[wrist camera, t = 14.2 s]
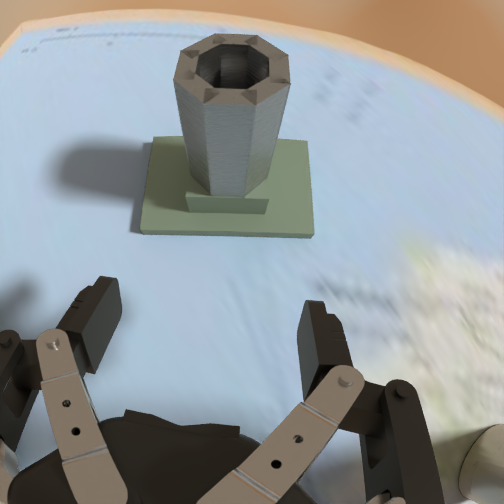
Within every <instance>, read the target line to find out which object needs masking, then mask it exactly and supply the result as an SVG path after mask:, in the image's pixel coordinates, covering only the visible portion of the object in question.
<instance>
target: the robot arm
mask: <svg viewBox="0 0 504 504" xmlns="http://www.w3.org/2000/svg"><path fill="white" fill-rule="evenodd" d="M121 314H122V303H121V297H120V290H119V283H118V280H117V278H112V277H105V276H100V277H99V278H98V279H97V281H96V282H95V284H94V285H93V286H87V287H86V288H85V289H83V290H82V291H80V292H79V294H78V295H77V297H76V298H75V301H73V303H72V304H71V306H70V307H69V309H68V310H67V312H66V313H65V315H64V316H63V318H62V319H61V321H60V322H59V324H58V325H57V327H56V329H50V330H47V331H45V332H43V333H42V334H41V335H40V336H39V337H38V339H37V340H21V339H20V337H19V334H18V333H17V332H16V331H14V330H4V331H2V332H0V504H317V503H316V502H315V501H314V500H313V499H312V498H311V497H310V496H309V495H308V494H307V493H306V492H305V491H304V490H303V489H302V488H301V486H300V485H299V484H298V482H299V480H300V479H301V478H302V477H303V475H304V474H305V473H306V472H307V470H308V469H309V468H310V466H311V465H312V464H313V462H314V461H315V460H316V458H317V457H318V456H319V454H320V453H321V452H322V450H323V449H324V448H325V446H326V445H327V444H328V442H329V441H330V439H331V438H332V437H333V435H334V434H335V432H336V431H337V430H338V429H342V430H346V431H350V432H354V433H358V434H359V437H360V445H361V453H362V462H363V471H364V481H365V491H366V503H365V504H445V503H444V498H443V493H442V488H441V483H440V478H439V474H438V469H437V465H436V460H435V456H434V452H433V448H432V444H431V440H430V436H429V432H428V429H427V425H426V421H425V418H424V414H423V411H422V407H421V404H420V400H419V397H418V394H417V391H416V389H415V388H414V387H413V386H412V385H411V384H410V383H408V382H407V381H404V380H399V379H396V380H392V381H390V382H388V383H387V385H386V386H382V385H378V384H374V383H370V382H368V381H365V380H364V378H363V376H362V374H361V373H360V372H359V371H358V370H357V369H355V368H354V367H353V364H352V360H351V356H350V352H349V349H348V345H347V341H346V338H345V334H344V330H343V327H342V323H341V322H340V320H339V319H338V318H337V317H336V316H335V314H327V312H326V308H325V304H324V302H323V301H312V300H306V301H305V303H304V307H303V311H302V314H301V318H300V322H299V326H298V331H297V345H298V354H299V363H300V372H301V381H302V390H303V400H304V403H302V402H300V403H299V404H298V405H297V406H296V407H295V408H294V409H293V410H292V412H291V413H290V414H289V415H288V416H287V417H286V418H285V419H284V420H283V422H282V423H281V424H280V425H279V426H278V427H277V428H276V429H275V430H274V431H273V432H272V433H271V434H270V436H269V437H268V438H267V439H266V440H265V441H264V442H263V443H262V444H260V443H259V442H257V441H255V440H254V439H252V438H249V437H247V436H245V435H242V434H239V433H240V426H231V425H220V424H211V423H210V424H200V425H187V426H180V425H176V424H174V423H171V422H169V421H166V420H164V419H162V418H159V417H157V416H154V415H152V414H146V413H141V412H136V411H132V410H127V409H126V410H125V414H124V417H115V418H110V419H106V420H104V421H101V422H100V420H99V417H98V415H97V413H96V410H95V408H94V405H93V403H92V400H91V397H90V395H89V392H88V389H87V387H86V384H85V381H84V379H83V377H84V375H85V373H86V372H88V373H92V374H95V373H96V371H97V369H98V366H99V364H100V362H101V360H102V357H103V355H104V353H105V351H106V349H107V346H108V344H109V342H110V340H111V338H112V336H113V334H114V331H115V329H116V327H117V325H118V323H119V321H120V318H121ZM9 379H10V380H9ZM8 380H9V382H8ZM7 382H8V384H7ZM6 384H7V386H6ZM5 386H6V388H5ZM4 388H5V390H4ZM39 390H42V392H43V396H44V400H45V404H46V408H47V412H48V416H49V419H50V423H51V426H52V430H53V433H54V436H55V439H56V443H57V446H58V449H56V450H55V451H53V452H52V453H50V454H48V455H47V456H45V457H43V458H42V459H40V460H39V461H37V462H35V463H34V464H32V465H30V466H29V467H27V468H25V469H24V470H22V471H21V472H19V470H18V459H17V456H16V455H15V451H16V448H17V445H18V442H19V440H20V437H21V434H22V432H23V429H24V426H25V424H26V421H27V419H28V416H29V414H30V411H31V409H32V406H33V404H34V402H35V399H36V397H37V394H38V392H39ZM3 391H4V392H3ZM459 489H460V491H461V494H462V495H463V496H464V497H466V498H468V499H470V500H472V501H474V502H476V503H478V504H504V424H498V425H495V426H493V427H491V428H489V429H488V430H487V431H485V432H484V433H483V434H482V435H481V436H480V437H479V438H478V440H477V441H476V442H475V443H474V445H473V446H472V448H471V449H470V451H469V453H468V454H467V456H466V458H465V460H464V463H463V465H462V468H461V472H460V476H459Z"/></svg>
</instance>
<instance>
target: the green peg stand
mask: <svg viewBox="0 0 504 504" xmlns="http://www.w3.org/2000/svg"><path fill="white" fill-rule="evenodd" d="M228 89H233V88H228ZM140 231H141V232H142V233H143V234H147V235H203V236H246V237H282V238H312V236H313V235H314V218H313V203H312V190H311V177H310V165H309V154H308V143H307V141H302V140H289V139H277V142H276V146H275V150H274V154H273V158H272V162H271V166H270V170H269V174H268V178H267V179H266V180H265V181H263V182H262V183H261V184H260V185H259V186H257V187H256V188H255V189H254V190H253V191H251V192H250V193H249V194H248V195H247V196H245V197H244V198H243V197H220V196H211V195H210V194H209V193H208V192H207V191H206V190H205V189H204V188H203V187H202V186H201V185H200V184H199V183H198V182H197V181H196V180H195V179H194V178H193V177H192V176H191V174H190V169H189V164H188V159H187V154H186V149H185V144H184V138H183V136H164V137H154V138H153V143H152V149H151V155H150V161H149V167H148V173H147V179H146V186H145V193H144V200H143V207H142V215H141V223H140Z"/></svg>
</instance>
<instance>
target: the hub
mask: <svg viewBox="0 0 504 504" xmlns="http://www.w3.org/2000/svg"><path fill="white" fill-rule="evenodd" d="M288 56H289V55H288V54H286V53H284V52H283V51H281V50H280V49H278V48H277V47H275V46H273V45H272V44H270V43H269V42H267V41H265V40H264V39H262V38H261V37H259V36H258V35H243V34H216V33H215V34H213V35H211V36H209V37H207V38H205V39H203V40H201V41H199V42H197V43H195V44H193V45H191V46H189V47H187V48H185V49H183V50H181V51H180V56H179V60H178V63H177V67H176V71H175V75H174V79H173V82H174V88H175V94H176V99H177V105H178V111H179V116H180V122H181V127H182V133H183V138H184V144H185V149H186V154H187V159H188V164H189V169H190V174H191V176H192V177H193V178H194V179H195V180H196V181H197V182H198V183H199V184H200V185H201V186H202V187H203V188H204V189H205V190H206V191H207V192H208V193H209V194H210V195H211V196H220V197H243V198H244V197H245V196H247V195H248V194H249V193H250V192H251V191H253V190H254V189H255V188H256V187H257V186H259V185H260V184H261V183H262V182H263V181H265V180H266V179H267V178H268V174H269V170H270V166H271V162H272V158H273V154H274V150H275V146H276V142H277V138H278V134H279V130H280V126H281V122H282V118H283V114H284V109H285V105H286V101H287V97H288V93H289V89H290V85H291V83H290V72H289V60H288ZM228 88H233V89H228Z"/></svg>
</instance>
